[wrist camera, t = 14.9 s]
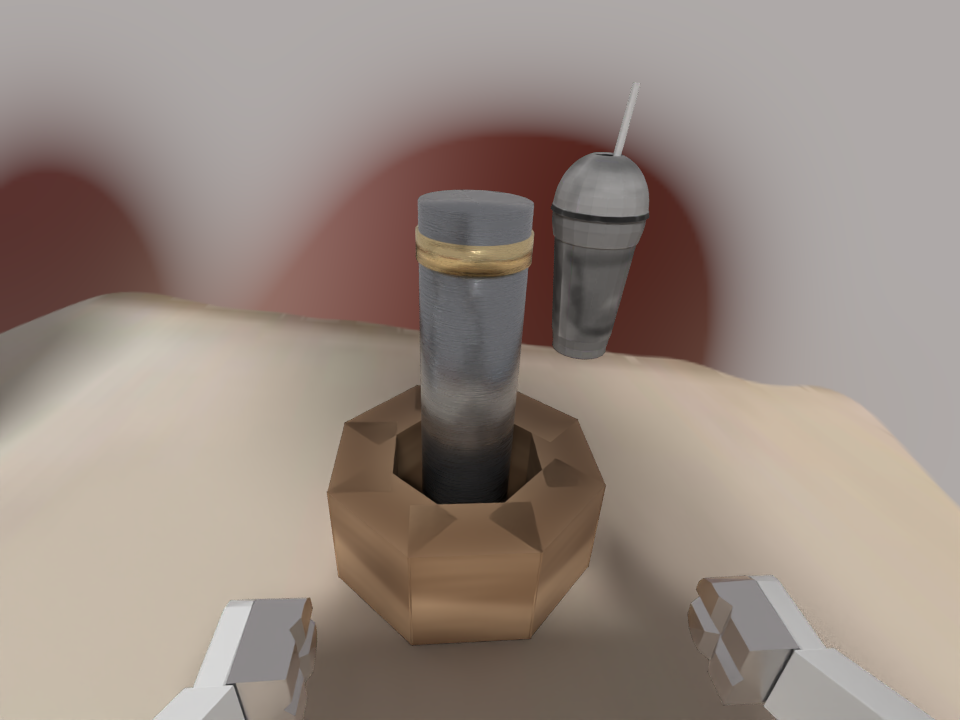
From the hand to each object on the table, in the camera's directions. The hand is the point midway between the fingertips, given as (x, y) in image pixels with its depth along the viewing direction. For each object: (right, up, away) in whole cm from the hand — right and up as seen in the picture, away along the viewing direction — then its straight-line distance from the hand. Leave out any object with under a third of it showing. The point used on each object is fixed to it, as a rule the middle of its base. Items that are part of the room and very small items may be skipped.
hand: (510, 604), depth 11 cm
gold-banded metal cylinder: (-1, -3, +15) cm, 15 cm away
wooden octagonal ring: (-1, -3, +15) cm, 15 cm away
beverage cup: (+8, +6, +33) cm, 35 cm away
